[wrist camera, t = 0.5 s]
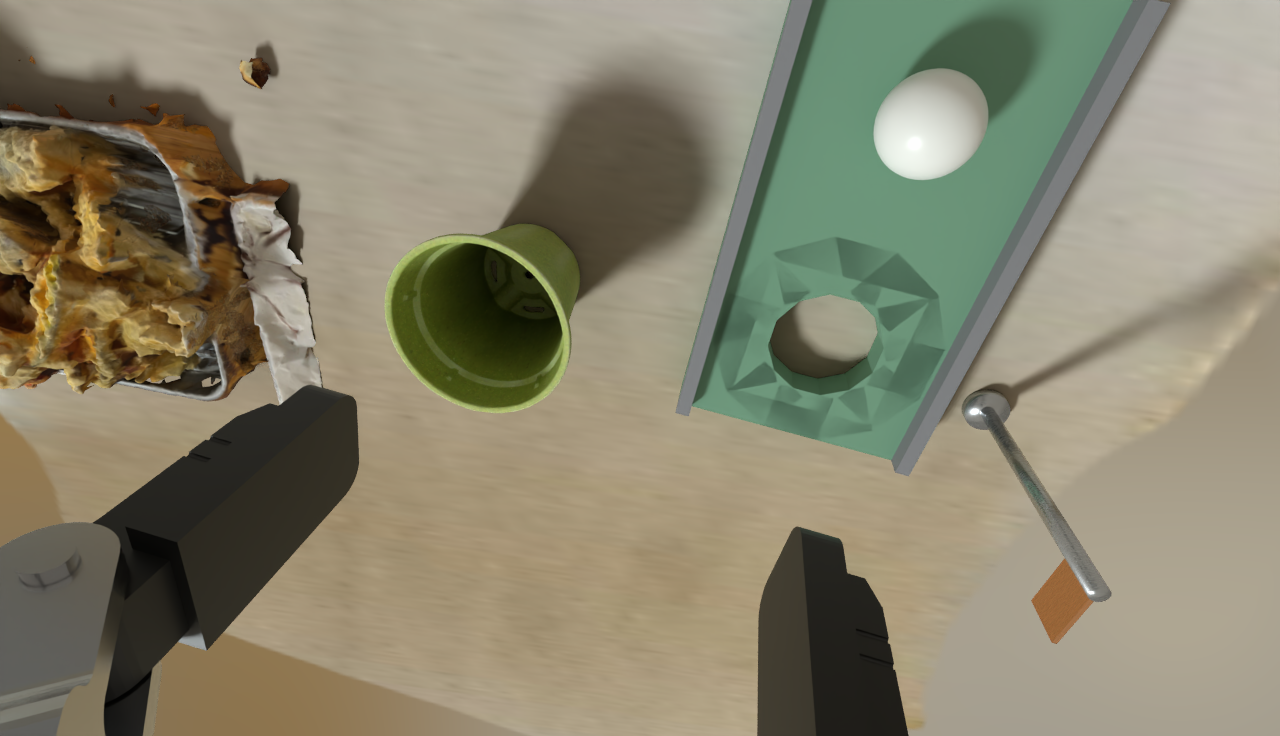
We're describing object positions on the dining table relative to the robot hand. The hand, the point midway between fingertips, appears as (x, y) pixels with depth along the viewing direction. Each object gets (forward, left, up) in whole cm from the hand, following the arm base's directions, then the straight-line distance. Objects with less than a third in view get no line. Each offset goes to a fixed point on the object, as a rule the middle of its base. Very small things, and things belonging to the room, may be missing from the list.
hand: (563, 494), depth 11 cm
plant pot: (+7, -8, -26) cm, 28 cm away
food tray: (+13, -41, -26) cm, 50 cm away
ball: (-6, +9, -21) cm, 24 cm away
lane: (0, +9, -25) cm, 27 cm away
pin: (+8, +20, -25) cm, 33 cm away
